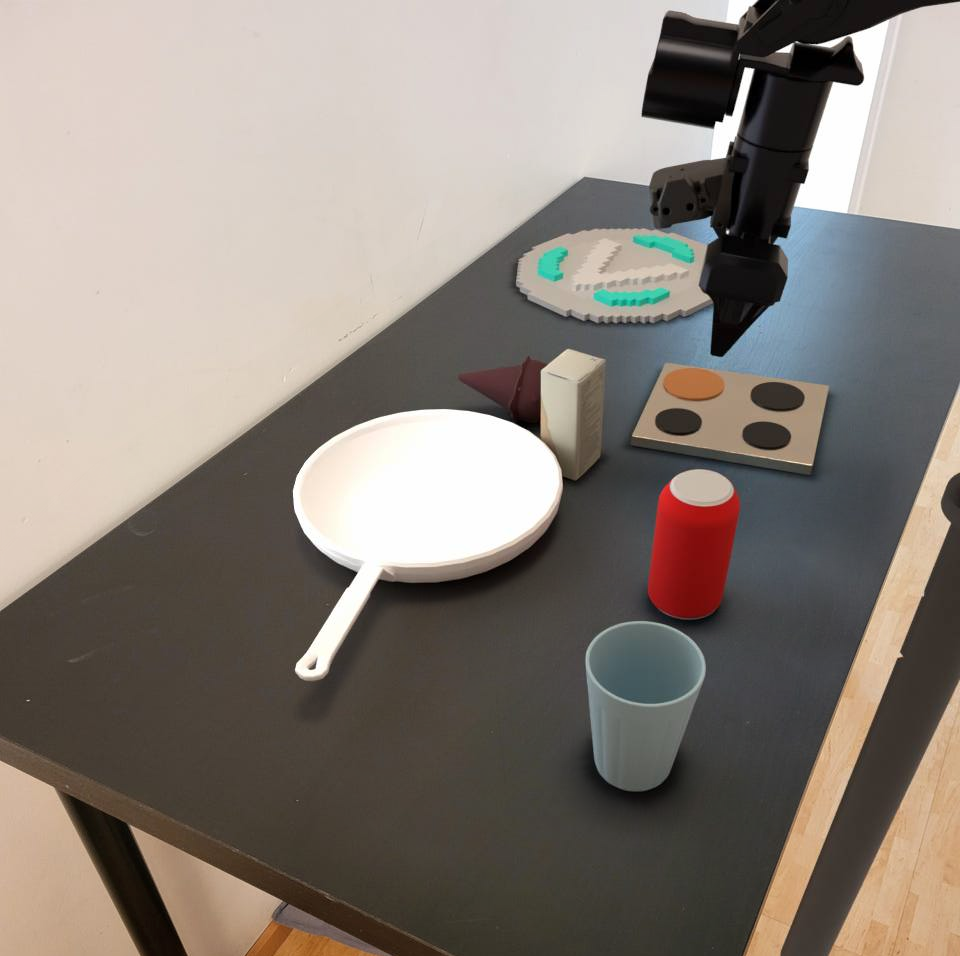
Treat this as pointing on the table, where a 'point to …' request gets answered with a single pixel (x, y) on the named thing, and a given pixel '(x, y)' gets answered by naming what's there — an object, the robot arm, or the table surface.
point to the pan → (421, 505)
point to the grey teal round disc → (616, 275)
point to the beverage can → (693, 543)
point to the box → (573, 410)
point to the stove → (733, 418)
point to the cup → (640, 700)
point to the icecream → (511, 388)
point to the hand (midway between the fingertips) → (719, 330)
